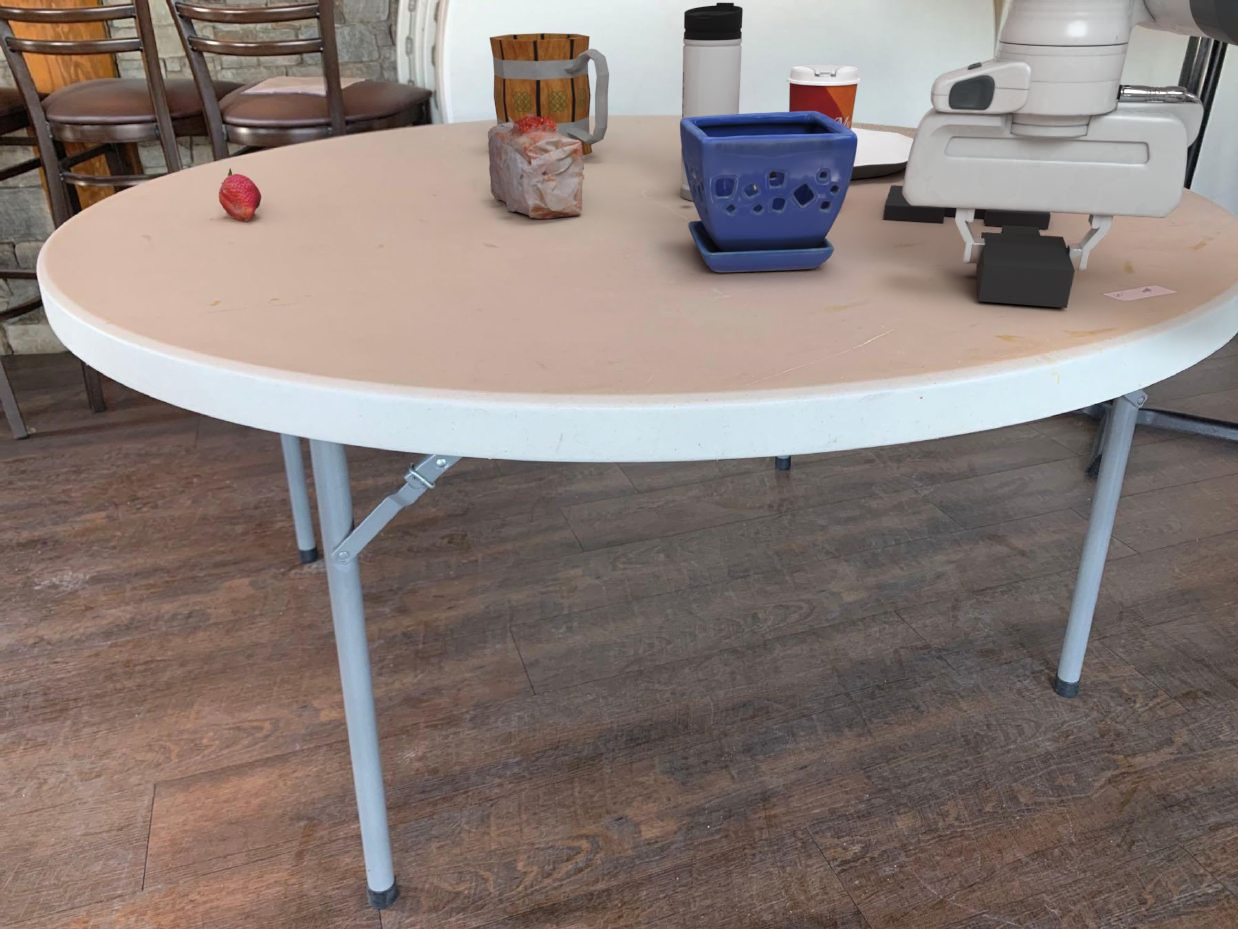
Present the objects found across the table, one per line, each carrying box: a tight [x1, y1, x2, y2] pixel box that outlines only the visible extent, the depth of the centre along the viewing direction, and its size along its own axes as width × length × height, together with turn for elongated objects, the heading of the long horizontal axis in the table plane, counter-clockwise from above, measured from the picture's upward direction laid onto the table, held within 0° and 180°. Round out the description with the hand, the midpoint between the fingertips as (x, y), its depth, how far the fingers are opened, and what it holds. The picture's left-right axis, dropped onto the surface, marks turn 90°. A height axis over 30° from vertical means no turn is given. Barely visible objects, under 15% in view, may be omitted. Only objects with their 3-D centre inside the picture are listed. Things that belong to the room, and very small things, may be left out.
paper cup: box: [786, 64, 862, 129], centre depth 104 cm, size 8×8×14 cm
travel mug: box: [680, 2, 744, 202], centre depth 106 cm, size 6×7×20 cm
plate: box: [770, 127, 914, 180], centre depth 127 cm, size 29×29×2 cm
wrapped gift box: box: [487, 113, 586, 220], centre depth 104 cm, size 14×8×10 cm, turn 28°
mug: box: [489, 32, 610, 156], centre depth 131 cm, size 20×14×15 cm
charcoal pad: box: [882, 184, 1052, 230], centre depth 102 cm, size 16×10×2 cm, turn 72°
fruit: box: [218, 167, 262, 222], centre depth 103 cm, size 4×6×5 cm
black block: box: [976, 225, 1076, 309], centre depth 80 cm, size 6×13×3 cm, turn 163°
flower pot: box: [679, 111, 858, 273], centre depth 85 cm, size 13×13×12 cm
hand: (1021, 265), depth 79 cm, fingers closed on black block, 6 cm apart
